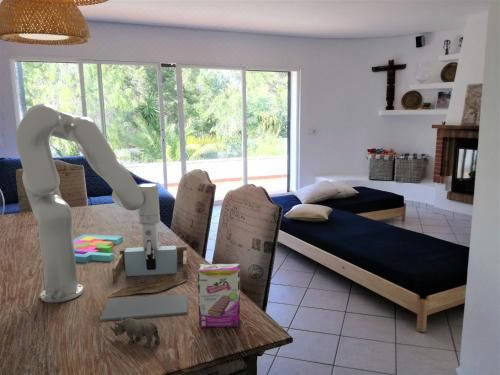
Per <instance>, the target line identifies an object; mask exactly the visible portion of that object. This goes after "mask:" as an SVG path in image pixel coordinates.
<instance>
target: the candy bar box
mask: <svg viewBox="0 0 500 375" xmlns="http://www.w3.org/2000/svg"><path fill="white" fill-rule="evenodd" d="M198 266H199V267H198V270H197V280H198V281H197V285H198V286H197V288H198V290H197V291H198V326H199V328H229V327H234V328H235V327H239V328H240V326H241V265H240V264H239V263H213V264H212V263H209V264H208V263H202V264H199V265H198Z"/></svg>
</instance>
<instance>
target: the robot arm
mask: <svg viewBox="0 0 500 375" xmlns="http://www.w3.org/2000/svg"><path fill="white" fill-rule="evenodd" d="M50 137H54V138H58V139H62V140H66V141H69V142H74V143H75V145H76V146H77V147H78V149H79V151H80V152H81V154H82V155H83V157H84V158H85V160H86V162H87V163H88V165H89V166H90V167H91V169H92V170H93V171H94V172H95V173H96V174H97V175H98V176H99V177H100V178H102V179H103V180H104V181H105V182H106V183H107V184H108V185H109V187H110V188H111V189H112V193H111V199H112V201H113V203H115V205H117V206H119V207H121V208H123V209H125V210H127V211H130V212H132V211H137V218H138V219H137V220H138V225H141V233H142V247H143V248H144V251H145V252H146V265H147V270H155V269H156V260H155V256H154V251H158V248H159V246H160V234H159V232H160V231H159V223H160V222H161V215H160V199H159V198H160V196H159V187H158V185H157V184H156V183H149V182H148V183H140V184H138V183H137V182H136V180H135V179H134V177H133V175H132V174H131V173H130V172H129V171H128V169H127V167H125V165H124V164H123V163H122V161H121V160H120V159H119V158H118V157H117V155H116V154H115V152H114V150H113V149H112V148H111V146H110V144H109V143H108V141H107V139H106V137H105V136H104V134H103V132H102V131H101V130H100V128H99V126H98V125H97V124H96V122H95V121H94V120H93V119H91V118H90V117H87V116H78V115H77V116H76V115H73V114H70V113H67V112H62V111H60V110H58V109H57V108H56V107H55V106H53V105H51V104H47V103H40V104H36V105H33V106H31V107H29V108H28V110H27V111H26V113H25V116H23V118H22V119H21V120H20V122H19V125H18V126H17V129H16V134H15V143H16V148H17V152H18V153H17V154H18V156H19V160H20V164H21V166H22V169H23V171H22V176H21V179H22V180H21V181H22V183H23V187H24V190H25V193H26V195H27V199H28V202H29V205H30V208H31V210H32V213H33V215H34V217H35V218H36V220H37V223H38V235H39V236H38V238H39V246H40V254H41V255H40V256H41V266H42V274H43V283H44V290H42V291H41V293H40V295H39V298H40V300H41V301H42V302H45V303H63V302H66V301H67V302H68V301H71V300H73V299H75V298H77V297H79V296H81V295H82V294H83V292H84V285H82V284H80V283H79V282H78V273H77V262H76V261H75V250H74V231H73V230H74V217H73V216H74V214H73V211H72V208H71V206H70V204H68V202H67V201H65V199H63V196H62V194H61V192H60V188H59V187H60V183H61V179H60V174H59V172H58V169H57V167H56V163H55V160H54V158H53V154H52V149H51V146H50V139H51V138H50ZM151 249H153V250H151ZM151 252H153V254H151Z"/></svg>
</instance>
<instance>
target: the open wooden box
mask: <svg viewBox="0 0 500 375" xmlns="http://www.w3.org/2000/svg"><path fill="white" fill-rule="evenodd" d="M176 246H177V263H182V271H183V275H182V276H183V278H188V245H176ZM125 250H126V248H123V249H119V254H118V257H117V258H116V259H115V262H114V264H113V266H112V267H111V274H112V283H117V282H118V280H119V278H120V275H121V273H122V271H123V269H124V268H125V256H124V252H125Z"/></svg>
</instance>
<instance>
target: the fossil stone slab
mask: <svg viewBox="0 0 500 375" xmlns="http://www.w3.org/2000/svg"><path fill="white" fill-rule="evenodd" d="M184 282H187V280H186V279H184V278H180V277H177V276H171V277H165V278H163V279H157V280H155V281H153V280H152V281H148V280H147V281H146V280H144V281H140V282H137V283H133V284H130V285H128V284H127V286H124V287H122V288H121V289H118V290H117V291H116V292H113V293H111V294H109V295H108V296H107V298H114V297H115V298H116V297H122V296H123V297H124V296H132V295H137V294H149V293H162V292H163V291H166V290H168V289H170V288H173V287H175V286H179V285H180V284H182V283H184Z"/></svg>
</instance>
